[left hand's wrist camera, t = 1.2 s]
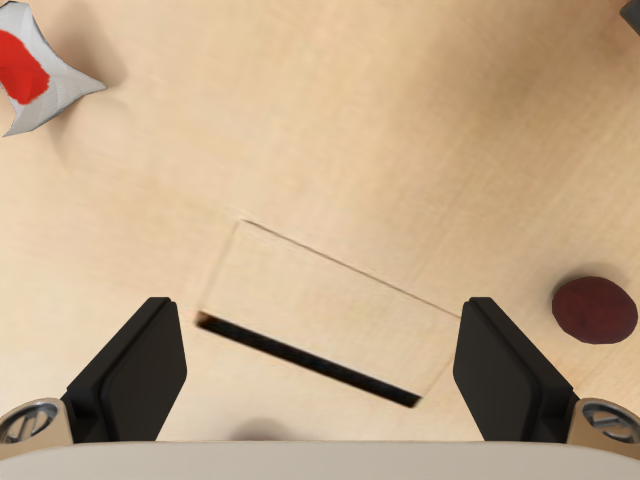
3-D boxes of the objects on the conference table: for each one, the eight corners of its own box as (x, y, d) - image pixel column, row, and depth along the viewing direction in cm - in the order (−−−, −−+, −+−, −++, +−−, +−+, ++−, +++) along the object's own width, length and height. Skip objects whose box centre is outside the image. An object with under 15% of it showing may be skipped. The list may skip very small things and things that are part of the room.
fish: (-101, -96, 26) (-202, -66, 20) (128, 30, 35) (107, 79, 29) (-93, 35, 32) (-168, 90, 26) (101, 115, 41) (79, 171, 35)
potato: (595, 320, 44) (644, 357, 37) (533, 321, 44) (571, 358, 37) (612, 266, 41) (667, 296, 35) (546, 267, 41) (589, 297, 35)
